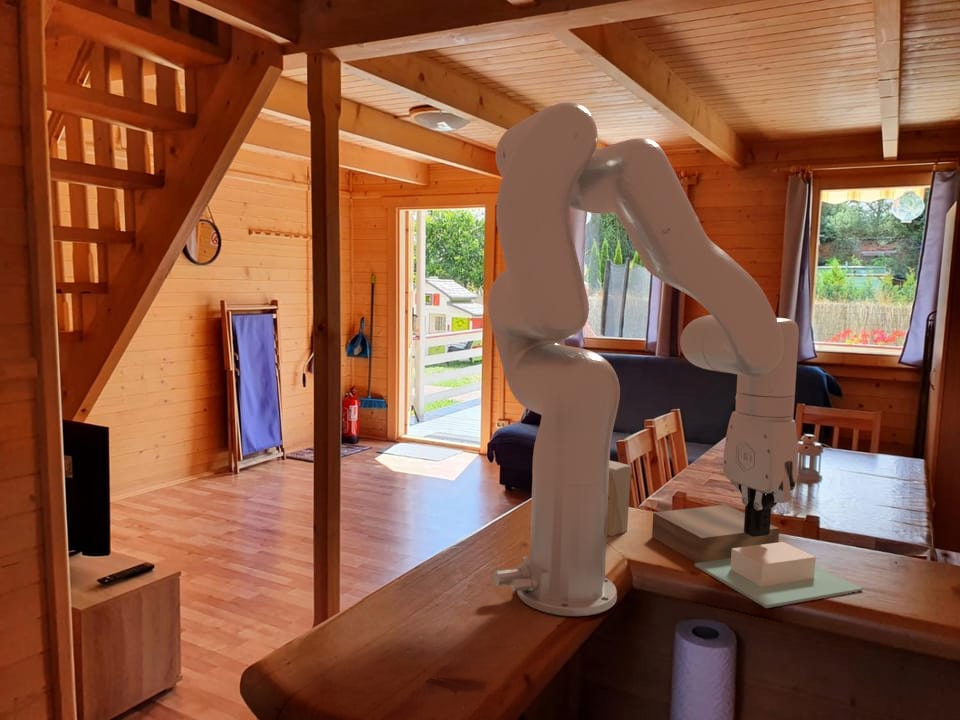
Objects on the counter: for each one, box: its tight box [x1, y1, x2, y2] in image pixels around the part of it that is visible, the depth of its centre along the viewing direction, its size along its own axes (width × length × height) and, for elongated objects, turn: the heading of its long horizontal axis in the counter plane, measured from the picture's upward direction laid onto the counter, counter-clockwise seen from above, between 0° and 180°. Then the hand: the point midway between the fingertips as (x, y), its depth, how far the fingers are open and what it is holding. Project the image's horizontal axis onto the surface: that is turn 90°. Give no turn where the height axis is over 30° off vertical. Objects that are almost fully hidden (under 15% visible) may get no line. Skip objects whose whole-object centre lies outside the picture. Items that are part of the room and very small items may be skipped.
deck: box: [651, 504, 780, 563], centre depth 109 cm, size 14×12×4 cm
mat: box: [694, 558, 864, 609], centre depth 97 cm, size 16×14×1 cm
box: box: [607, 460, 632, 537], centre depth 114 cm, size 5×4×11 cm
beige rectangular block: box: [730, 541, 817, 587], centre depth 97 cm, size 9×6×3 cm, turn 110°
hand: (756, 533), depth 100 cm, fingers closed
